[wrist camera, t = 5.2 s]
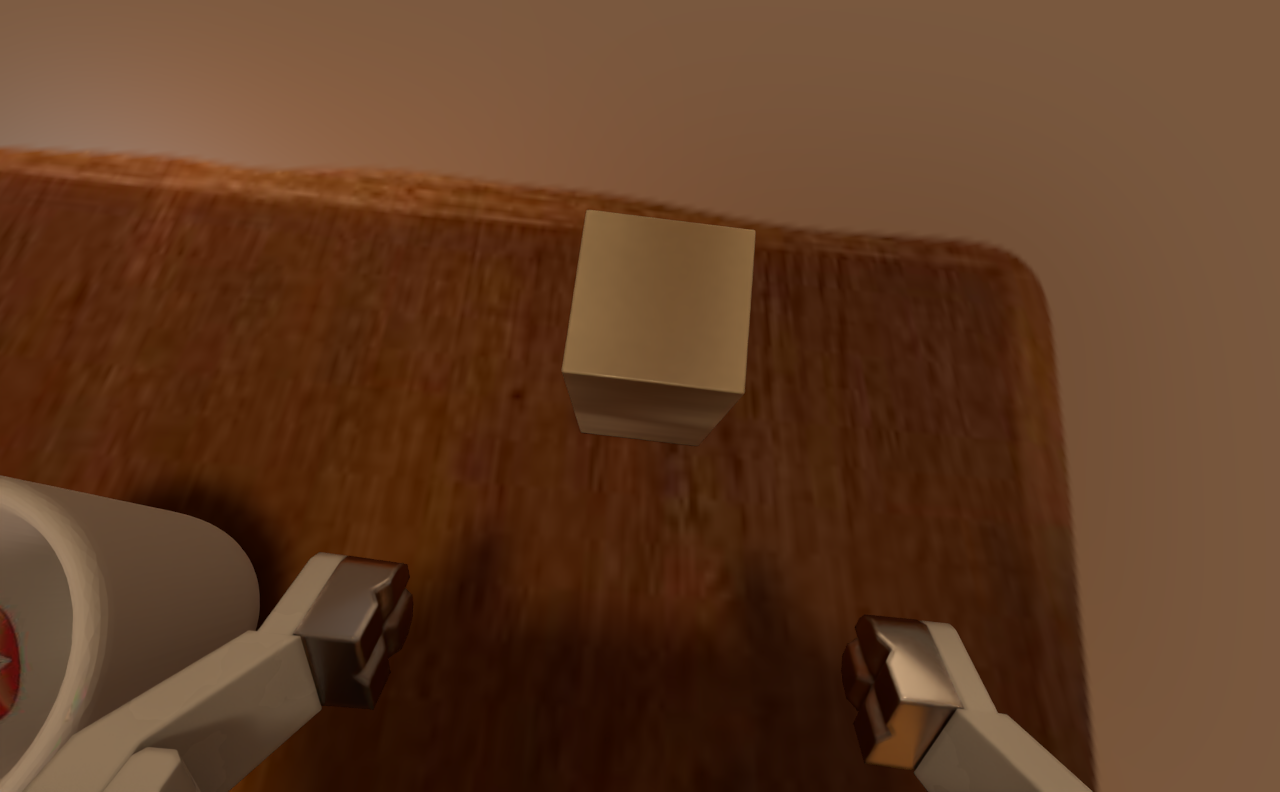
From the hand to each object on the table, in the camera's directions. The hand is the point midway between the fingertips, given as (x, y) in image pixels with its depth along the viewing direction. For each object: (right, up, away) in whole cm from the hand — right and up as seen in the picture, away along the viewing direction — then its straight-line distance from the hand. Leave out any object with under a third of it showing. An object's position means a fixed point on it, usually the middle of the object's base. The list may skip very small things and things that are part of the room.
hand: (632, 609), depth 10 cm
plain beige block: (0, +4, +12) cm, 13 cm away
